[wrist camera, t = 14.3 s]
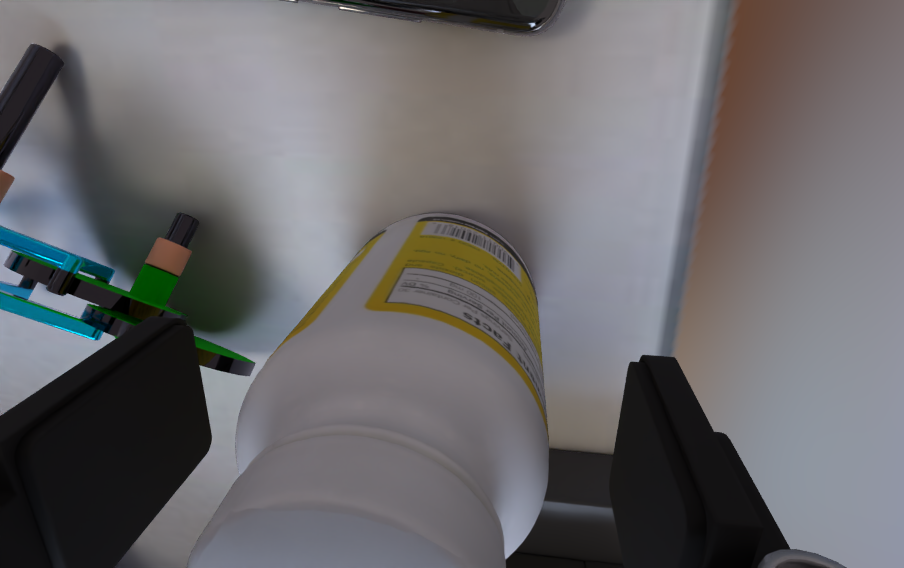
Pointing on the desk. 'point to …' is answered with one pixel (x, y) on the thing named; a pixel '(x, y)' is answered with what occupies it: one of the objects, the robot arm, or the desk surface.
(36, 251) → the stick construction toy
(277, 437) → the supplement bottle
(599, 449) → the desk surface
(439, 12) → the smartphone
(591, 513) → the dark gray block frame
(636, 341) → the desk surface
